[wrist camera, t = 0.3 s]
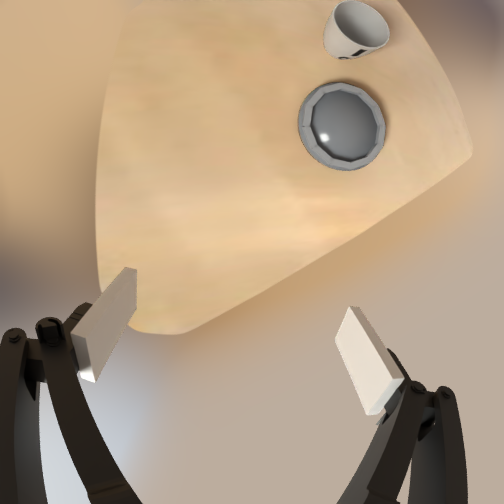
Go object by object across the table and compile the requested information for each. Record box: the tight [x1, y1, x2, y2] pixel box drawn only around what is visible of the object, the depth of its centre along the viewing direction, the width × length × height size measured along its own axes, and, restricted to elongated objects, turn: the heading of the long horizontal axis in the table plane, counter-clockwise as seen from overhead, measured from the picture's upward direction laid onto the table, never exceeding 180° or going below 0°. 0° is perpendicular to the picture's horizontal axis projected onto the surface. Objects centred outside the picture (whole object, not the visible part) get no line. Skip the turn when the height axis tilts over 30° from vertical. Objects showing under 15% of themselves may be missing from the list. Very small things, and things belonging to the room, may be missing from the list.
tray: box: [298, 82, 386, 171], centre depth 36 cm, size 14×14×2 cm
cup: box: [323, 0, 390, 60], centre depth 27 cm, size 8×8×10 cm
